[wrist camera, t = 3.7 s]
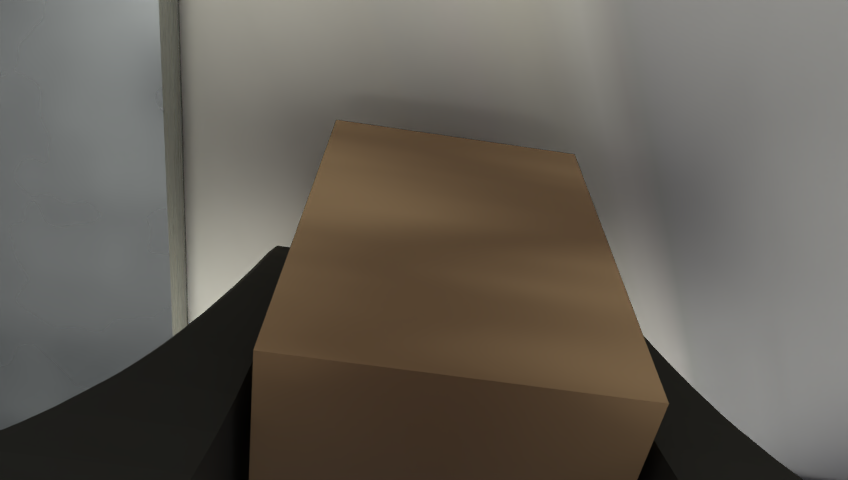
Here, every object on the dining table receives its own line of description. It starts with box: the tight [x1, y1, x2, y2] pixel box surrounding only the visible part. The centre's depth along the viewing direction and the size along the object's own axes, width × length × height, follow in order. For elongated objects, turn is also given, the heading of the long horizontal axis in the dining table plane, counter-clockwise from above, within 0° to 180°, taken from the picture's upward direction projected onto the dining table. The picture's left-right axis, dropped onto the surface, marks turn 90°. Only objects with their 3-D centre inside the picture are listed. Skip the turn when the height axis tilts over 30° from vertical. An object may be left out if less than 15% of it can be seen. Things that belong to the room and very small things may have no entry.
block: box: [249, 120, 669, 480], centre depth 11 cm, size 4×5×6 cm
